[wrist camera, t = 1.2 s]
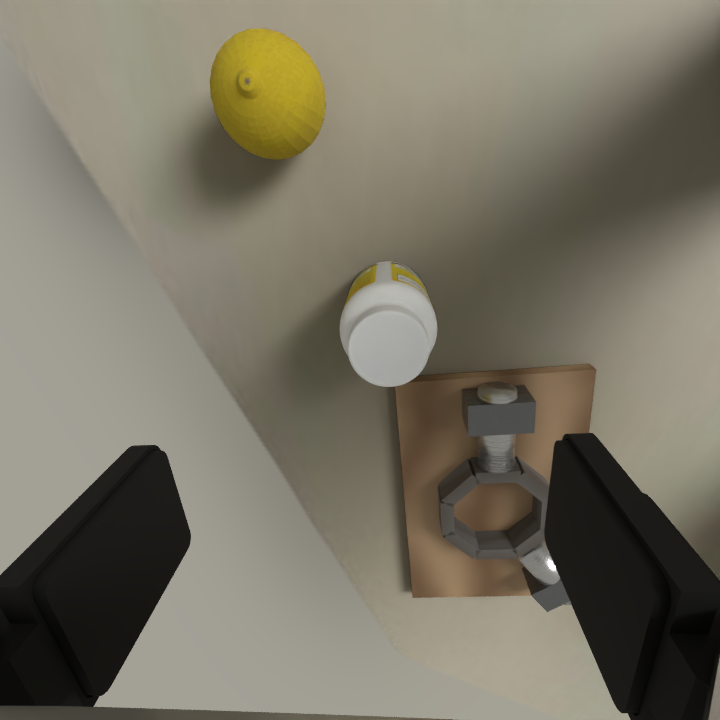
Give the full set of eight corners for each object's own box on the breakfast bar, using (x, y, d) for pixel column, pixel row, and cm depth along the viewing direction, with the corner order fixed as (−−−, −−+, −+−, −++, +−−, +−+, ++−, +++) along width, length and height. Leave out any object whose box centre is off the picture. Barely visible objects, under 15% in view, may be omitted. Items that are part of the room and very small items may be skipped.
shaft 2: (497, 537, 36) (508, 572, 33) (542, 513, 35) (558, 546, 32) (535, 577, 38) (549, 614, 35) (579, 555, 37) (598, 591, 33)
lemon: (302, 182, 26) (269, 179, 19) (227, 125, 26) (161, 99, 18) (352, 99, 25) (336, 60, 17) (272, 34, 24) (219, -36, 16)
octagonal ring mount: (589, 363, 30) (610, 381, 27) (565, 584, 38) (579, 616, 35) (394, 377, 31) (394, 396, 28) (412, 588, 39) (413, 618, 37)
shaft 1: (517, 443, 33) (532, 472, 29) (460, 446, 33) (468, 474, 30) (520, 373, 30) (536, 396, 27) (459, 378, 31) (467, 400, 28)
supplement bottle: (351, 337, 30) (336, 401, 21) (346, 262, 28) (326, 297, 19) (427, 334, 30) (443, 398, 21) (426, 258, 28) (445, 291, 19)
